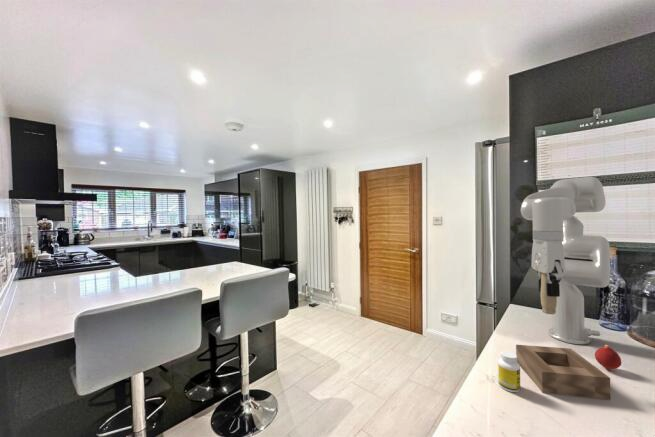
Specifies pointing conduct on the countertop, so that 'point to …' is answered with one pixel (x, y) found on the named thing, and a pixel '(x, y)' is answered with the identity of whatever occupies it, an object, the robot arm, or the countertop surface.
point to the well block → (562, 372)
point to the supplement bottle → (509, 372)
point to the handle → (547, 301)
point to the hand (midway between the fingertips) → (548, 293)
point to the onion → (608, 358)
